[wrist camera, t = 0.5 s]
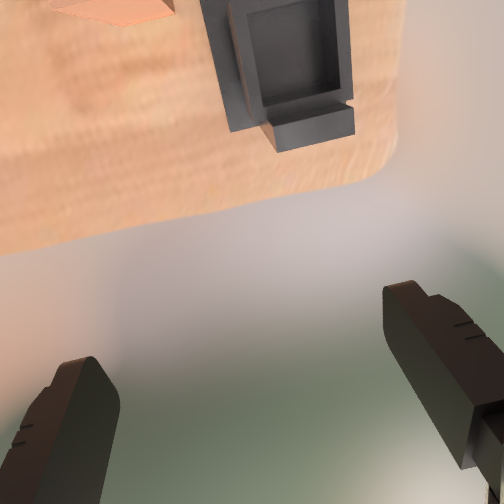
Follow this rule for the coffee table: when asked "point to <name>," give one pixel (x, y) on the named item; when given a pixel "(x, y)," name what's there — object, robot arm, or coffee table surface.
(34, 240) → the coffee table surface
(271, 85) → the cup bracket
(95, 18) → the rail post
